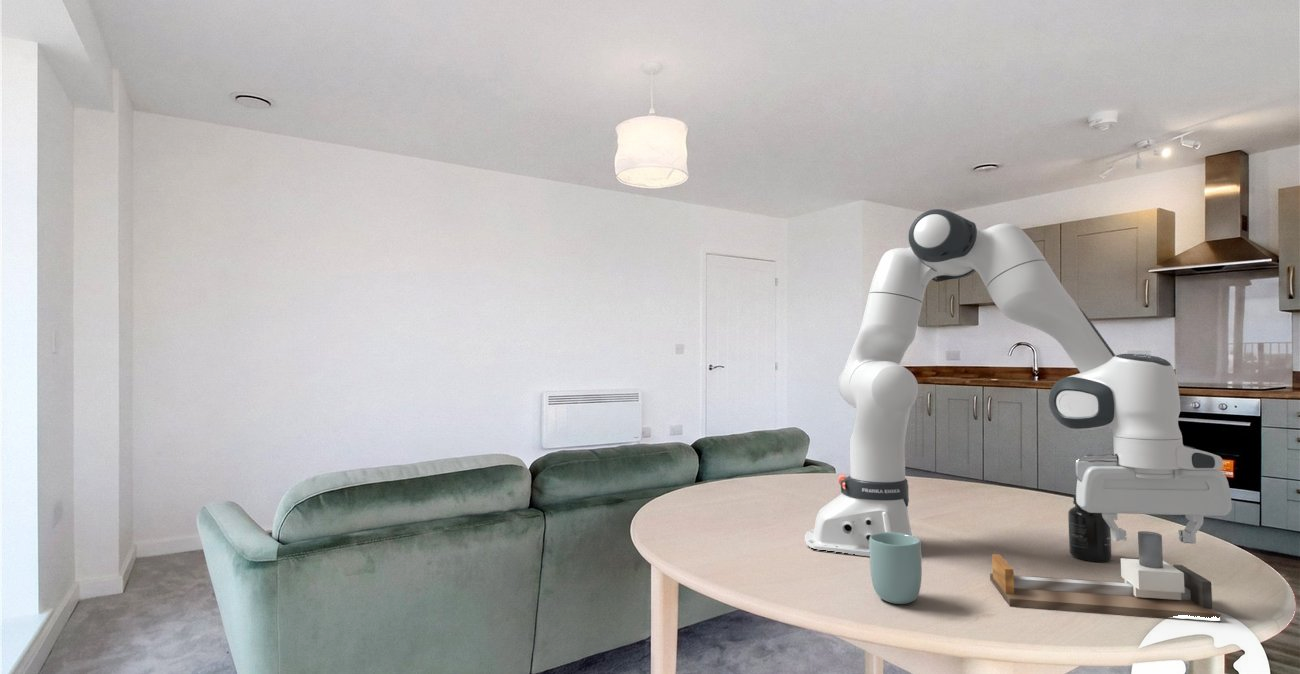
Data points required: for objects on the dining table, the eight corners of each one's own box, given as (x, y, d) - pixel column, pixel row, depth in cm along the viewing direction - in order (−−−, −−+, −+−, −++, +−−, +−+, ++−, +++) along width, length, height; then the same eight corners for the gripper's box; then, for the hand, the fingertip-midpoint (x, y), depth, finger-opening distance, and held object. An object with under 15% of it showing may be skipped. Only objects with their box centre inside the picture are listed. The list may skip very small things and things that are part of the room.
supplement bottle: (1119, 563, 120) (1116, 499, 120) (1079, 562, 121) (1076, 498, 121) (1101, 552, 126) (1098, 492, 127) (1063, 551, 128) (1061, 491, 128)
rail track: (1009, 606, 100) (1008, 573, 101) (990, 580, 112) (989, 550, 112) (1221, 622, 93) (1219, 586, 93) (1176, 592, 105) (1175, 561, 105)
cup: (896, 612, 99) (894, 547, 99) (861, 595, 106) (859, 535, 106) (933, 604, 102) (931, 541, 102) (896, 588, 109) (894, 529, 109)
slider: (1139, 599, 98) (1136, 537, 99) (1121, 585, 104) (1119, 527, 105) (1185, 602, 97) (1182, 540, 97) (1164, 588, 103) (1161, 529, 103)
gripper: (1082, 457, 101) (1087, 544, 101) (1235, 458, 96) (1241, 550, 96) (1066, 451, 107) (1071, 533, 107) (1209, 451, 102) (1215, 538, 102)
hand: (1152, 541), depth 101 cm, fingers open, 8 cm apart
